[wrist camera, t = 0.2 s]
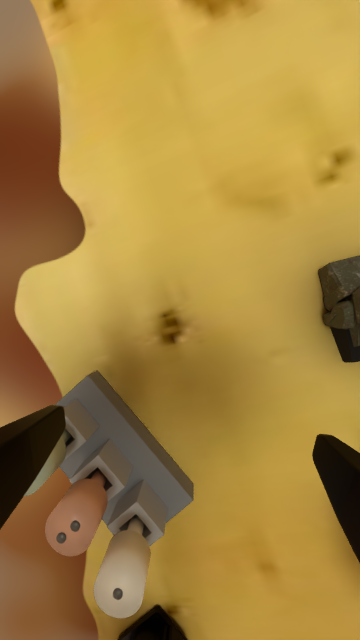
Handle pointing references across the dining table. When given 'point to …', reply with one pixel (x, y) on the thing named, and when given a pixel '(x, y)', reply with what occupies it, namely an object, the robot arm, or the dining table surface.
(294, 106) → the dining table surface
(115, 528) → the grey button panel
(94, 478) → the terracotta key
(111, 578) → the cream key
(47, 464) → the sage key
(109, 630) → the dining table surface
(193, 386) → the dining table surface
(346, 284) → the mechanical leg
